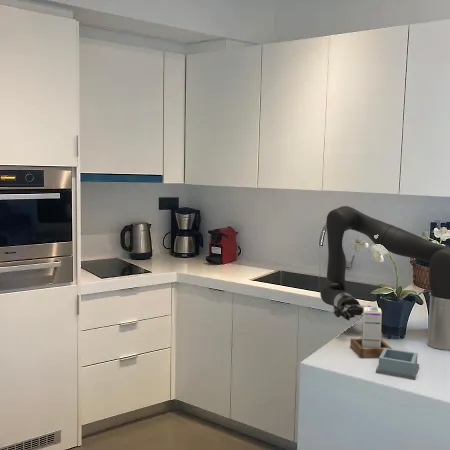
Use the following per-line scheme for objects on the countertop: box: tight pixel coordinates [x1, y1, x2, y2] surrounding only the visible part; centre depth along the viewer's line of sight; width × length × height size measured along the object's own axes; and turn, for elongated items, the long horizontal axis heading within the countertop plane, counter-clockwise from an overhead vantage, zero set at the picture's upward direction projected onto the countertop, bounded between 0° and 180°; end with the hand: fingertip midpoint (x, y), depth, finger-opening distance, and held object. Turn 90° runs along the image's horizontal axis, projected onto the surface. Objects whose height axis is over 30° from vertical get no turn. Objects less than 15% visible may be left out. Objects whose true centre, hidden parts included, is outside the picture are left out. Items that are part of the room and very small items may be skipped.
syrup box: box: [361, 306, 383, 348], centre depth 178 cm, size 6×6×14 cm
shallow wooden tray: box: [349, 337, 393, 359], centre depth 179 cm, size 10×10×3 cm
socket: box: [375, 348, 420, 381], centre depth 164 cm, size 11×11×4 cm
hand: (361, 317), depth 188 cm, fingers open, 8 cm apart
